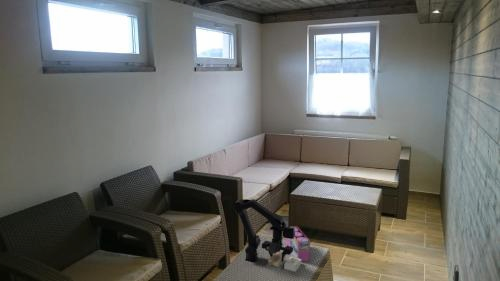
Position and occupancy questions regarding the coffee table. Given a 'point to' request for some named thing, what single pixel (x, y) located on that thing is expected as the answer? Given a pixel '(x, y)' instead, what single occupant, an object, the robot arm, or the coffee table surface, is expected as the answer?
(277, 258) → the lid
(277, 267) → the mat
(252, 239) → the robot arm
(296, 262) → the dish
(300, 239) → the gum box
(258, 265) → the coffee table surface
